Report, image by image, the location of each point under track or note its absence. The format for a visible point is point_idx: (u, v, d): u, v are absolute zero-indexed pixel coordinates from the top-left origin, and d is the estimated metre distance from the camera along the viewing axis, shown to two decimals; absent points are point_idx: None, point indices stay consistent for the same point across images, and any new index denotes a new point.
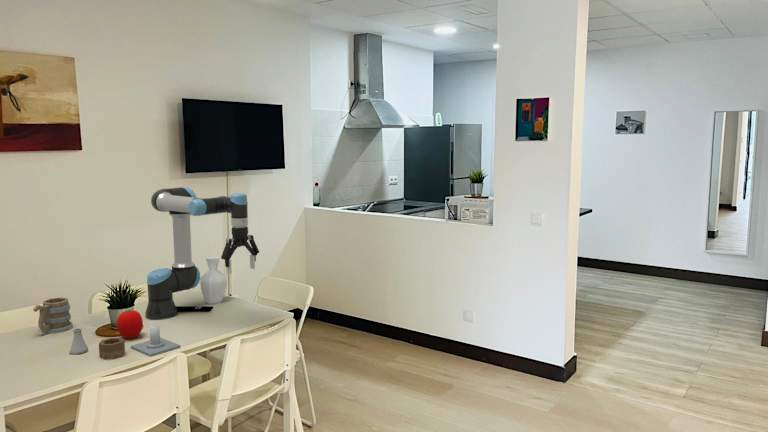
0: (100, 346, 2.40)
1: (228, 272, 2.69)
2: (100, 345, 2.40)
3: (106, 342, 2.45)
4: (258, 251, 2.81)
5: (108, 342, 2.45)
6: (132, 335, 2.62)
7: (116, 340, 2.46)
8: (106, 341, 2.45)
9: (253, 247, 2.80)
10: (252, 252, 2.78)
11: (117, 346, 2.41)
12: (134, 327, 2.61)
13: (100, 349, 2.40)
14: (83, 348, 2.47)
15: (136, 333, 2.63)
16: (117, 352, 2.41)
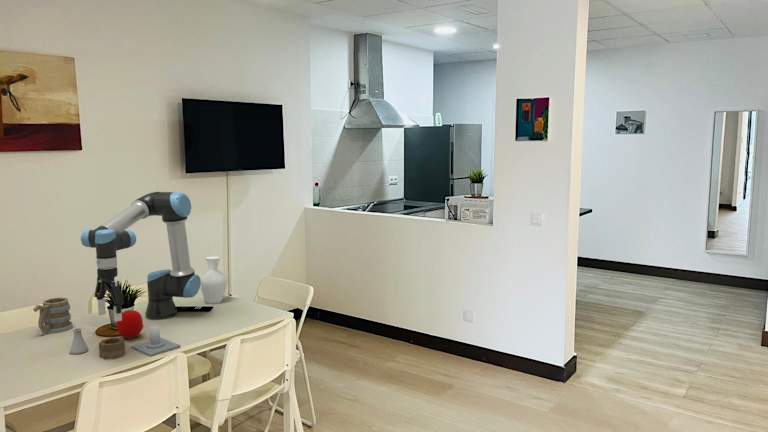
0: (100, 346, 2.40)
1: None
2: (100, 345, 2.40)
3: (106, 342, 2.45)
4: (117, 303, 2.34)
5: (108, 342, 2.45)
6: (132, 335, 2.62)
7: (116, 340, 2.46)
8: (106, 341, 2.45)
9: None
10: (113, 301, 2.36)
11: (117, 346, 2.41)
12: (134, 327, 2.61)
13: (100, 349, 2.40)
14: (83, 348, 2.47)
15: (136, 333, 2.63)
16: (117, 352, 2.41)
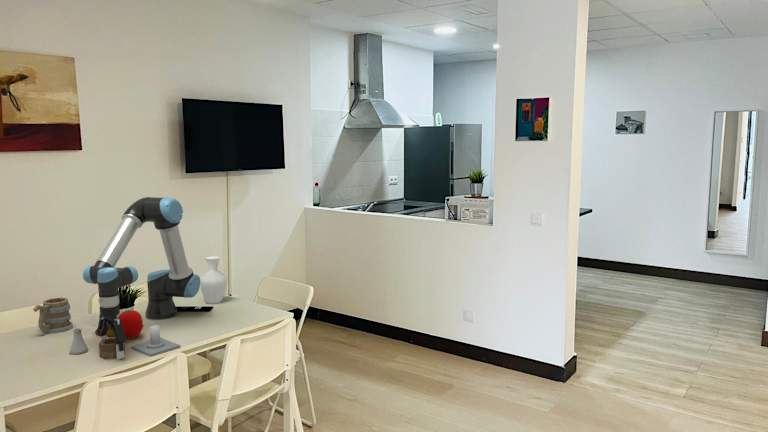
0: (100, 346, 2.40)
1: None
2: (100, 345, 2.40)
3: (106, 342, 2.45)
4: (119, 341, 2.36)
5: (108, 342, 2.45)
6: (132, 335, 2.62)
7: None
8: (106, 341, 2.45)
9: None
10: (116, 339, 2.38)
11: None
12: (134, 327, 2.61)
13: (100, 349, 2.40)
14: (83, 348, 2.47)
15: (136, 333, 2.63)
16: None
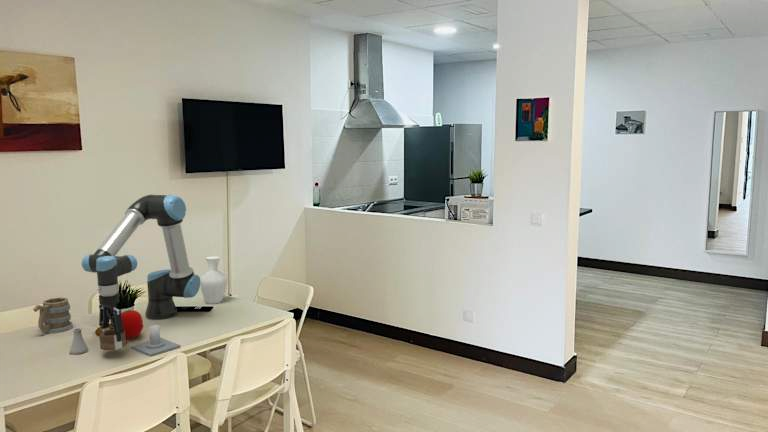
0: (101, 338, 2.40)
1: None
2: (101, 337, 2.40)
3: (107, 333, 2.45)
4: (117, 332, 2.37)
5: (109, 333, 2.45)
6: (132, 335, 2.62)
7: None
8: (107, 332, 2.45)
9: None
10: (114, 329, 2.39)
11: None
12: (134, 327, 2.61)
13: (101, 340, 2.41)
14: (83, 348, 2.47)
15: (136, 333, 2.63)
16: None
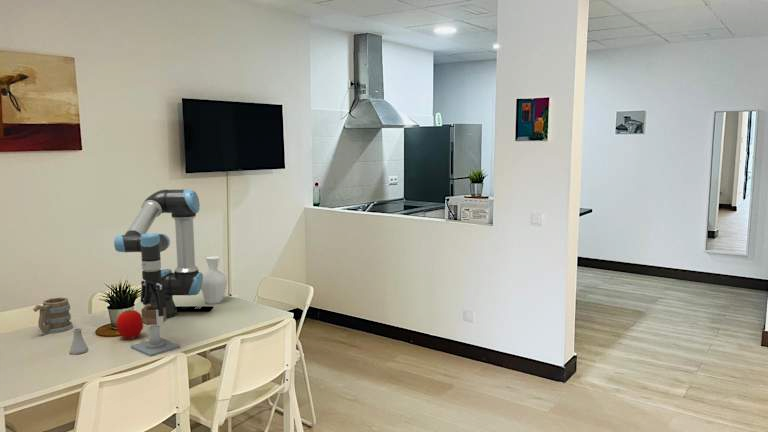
0: (143, 312, 2.47)
1: None
2: (143, 311, 2.47)
3: (148, 309, 2.52)
4: (160, 306, 2.44)
5: (150, 309, 2.52)
6: (132, 335, 2.62)
7: None
8: (148, 308, 2.52)
9: None
10: None
11: None
12: (134, 327, 2.61)
13: (143, 315, 2.47)
14: (83, 348, 2.47)
15: (136, 333, 2.63)
16: None
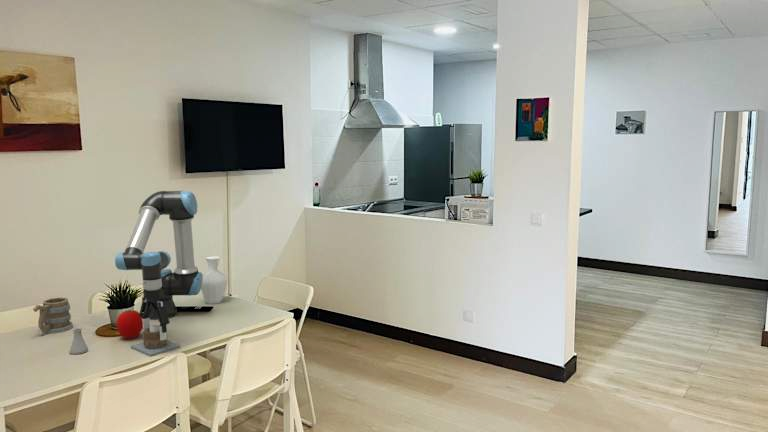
0: (144, 334, 2.49)
1: None
2: (144, 333, 2.49)
3: (149, 331, 2.53)
4: (163, 323, 2.44)
5: None
6: (132, 335, 2.62)
7: None
8: (149, 330, 2.53)
9: None
10: (159, 321, 2.46)
11: None
12: (134, 327, 2.61)
13: (144, 337, 2.49)
14: (83, 348, 2.47)
15: (136, 333, 2.63)
16: (160, 340, 2.49)
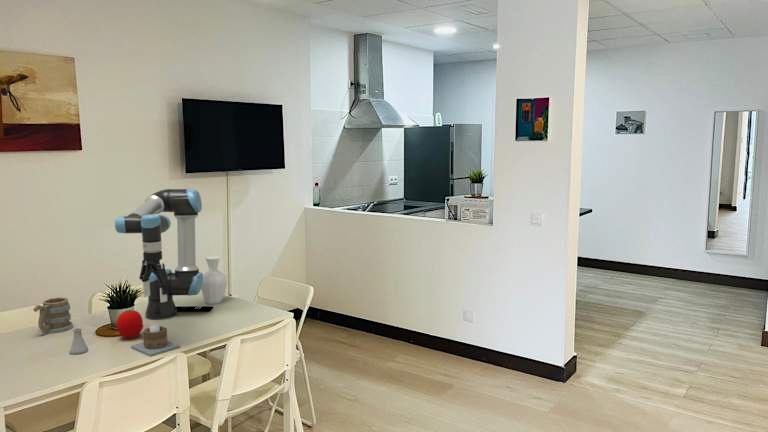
0: (144, 334, 2.49)
1: None
2: (144, 333, 2.49)
3: (149, 331, 2.53)
4: (163, 285, 2.45)
5: None
6: (132, 335, 2.62)
7: None
8: (149, 330, 2.53)
9: None
10: (159, 283, 2.47)
11: (161, 334, 2.49)
12: (134, 327, 2.61)
13: (144, 337, 2.49)
14: (83, 348, 2.47)
15: (136, 333, 2.63)
16: (160, 340, 2.49)
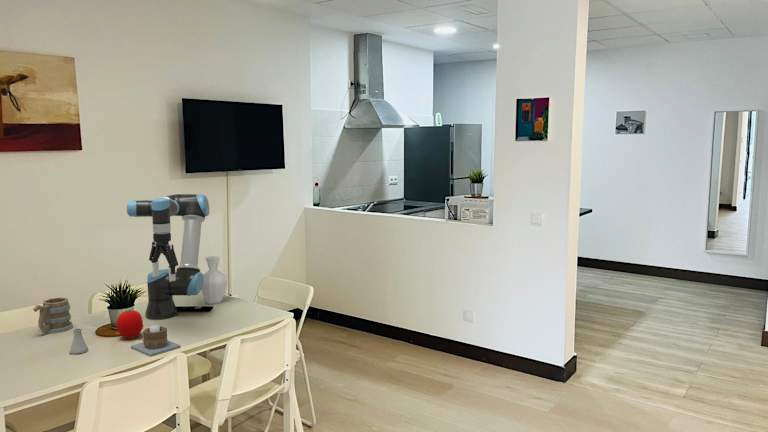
0: (144, 334, 2.49)
1: None
2: (144, 333, 2.49)
3: (149, 331, 2.53)
4: (172, 264, 2.57)
5: None
6: (132, 335, 2.62)
7: None
8: (149, 330, 2.53)
9: None
10: (168, 263, 2.60)
11: (161, 334, 2.49)
12: (134, 327, 2.61)
13: (144, 337, 2.49)
14: (83, 348, 2.47)
15: (136, 333, 2.63)
16: (160, 340, 2.49)
